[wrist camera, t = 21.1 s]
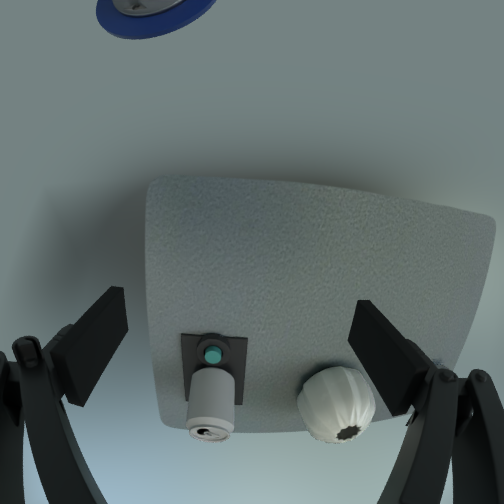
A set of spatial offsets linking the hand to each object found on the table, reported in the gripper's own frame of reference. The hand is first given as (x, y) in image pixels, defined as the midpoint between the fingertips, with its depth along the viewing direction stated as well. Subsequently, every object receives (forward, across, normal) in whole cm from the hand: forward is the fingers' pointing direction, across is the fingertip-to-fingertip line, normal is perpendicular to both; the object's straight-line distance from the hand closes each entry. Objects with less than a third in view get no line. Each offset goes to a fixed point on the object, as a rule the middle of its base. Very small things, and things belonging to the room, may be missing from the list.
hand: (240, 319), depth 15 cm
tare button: (+25, -3, -20) cm, 32 cm away
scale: (+26, -3, -26) cm, 37 cm away
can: (+25, -3, -26) cm, 36 cm away
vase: (+26, +19, -29) cm, 44 cm away
